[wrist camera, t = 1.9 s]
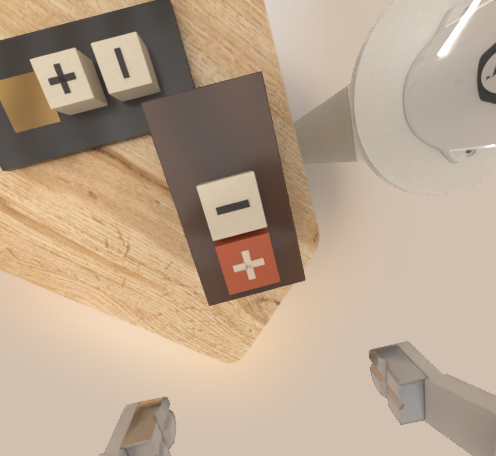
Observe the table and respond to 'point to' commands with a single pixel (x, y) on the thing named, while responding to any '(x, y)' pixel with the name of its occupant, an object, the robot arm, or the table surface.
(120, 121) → the dark grey board
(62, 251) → the table surface
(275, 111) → the table surface
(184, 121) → the dark brown block stand
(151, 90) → the minus sign block
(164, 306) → the table surface
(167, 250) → the table surface
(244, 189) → the slotted cream cube
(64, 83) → the cream math cube
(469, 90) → the robot arm
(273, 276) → the red plus sign cube
